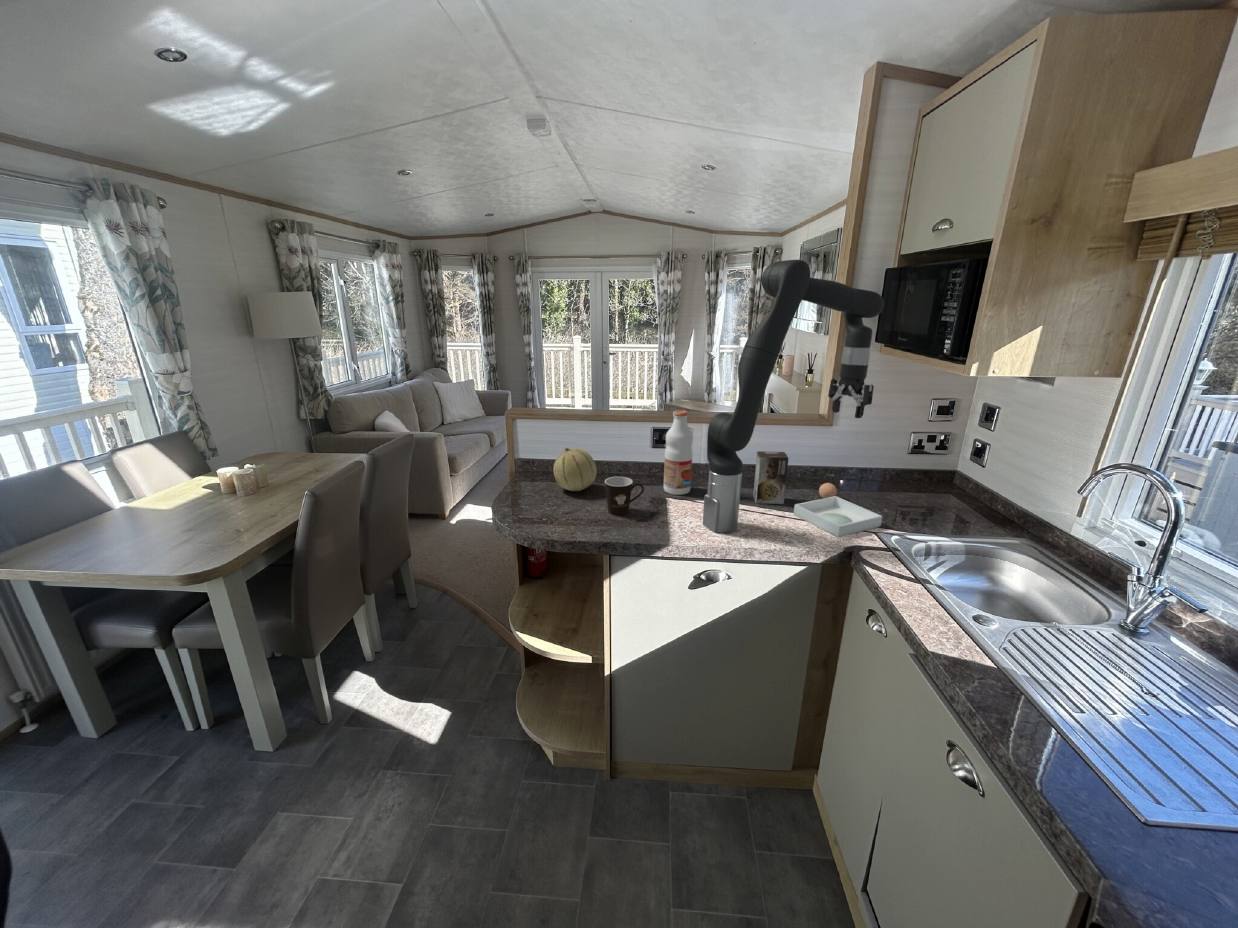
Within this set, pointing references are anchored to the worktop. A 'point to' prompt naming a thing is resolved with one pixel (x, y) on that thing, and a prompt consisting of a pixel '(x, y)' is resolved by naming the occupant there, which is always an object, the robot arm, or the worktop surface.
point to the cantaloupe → (574, 469)
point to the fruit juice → (678, 456)
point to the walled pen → (837, 516)
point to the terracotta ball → (827, 490)
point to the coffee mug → (619, 494)
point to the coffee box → (770, 477)
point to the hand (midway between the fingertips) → (846, 415)
